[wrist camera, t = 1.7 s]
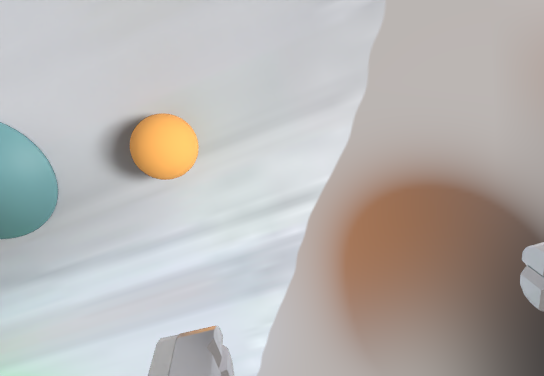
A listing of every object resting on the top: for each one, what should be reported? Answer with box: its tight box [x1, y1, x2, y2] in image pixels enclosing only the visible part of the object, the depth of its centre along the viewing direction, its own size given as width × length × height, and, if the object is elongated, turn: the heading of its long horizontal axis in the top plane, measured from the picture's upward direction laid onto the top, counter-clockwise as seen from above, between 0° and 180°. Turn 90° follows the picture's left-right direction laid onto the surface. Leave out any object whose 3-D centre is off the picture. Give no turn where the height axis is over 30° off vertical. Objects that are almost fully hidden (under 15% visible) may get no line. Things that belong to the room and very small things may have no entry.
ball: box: [130, 114, 198, 180], centre depth 28 cm, size 6×6×6 cm
